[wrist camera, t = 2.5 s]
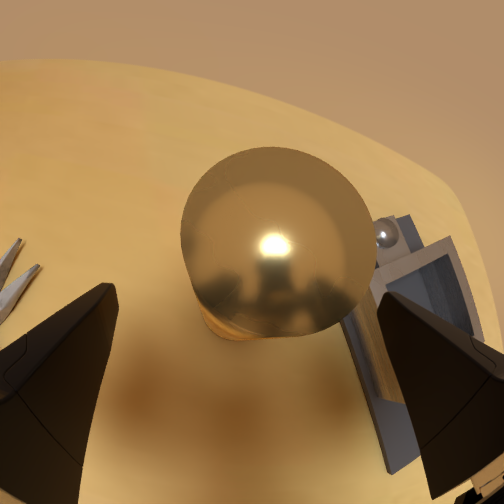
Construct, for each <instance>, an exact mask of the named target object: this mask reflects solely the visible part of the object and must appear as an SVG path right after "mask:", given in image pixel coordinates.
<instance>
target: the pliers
mask: <svg viewBox="0 0 504 504" xmlns="http://www.w3.org/2000/svg"><path fill="white" fill-rule="evenodd" d="M21 241H22V239H20V238H18V239H17V241H16V242H15V243H14V244H13V245H12V246H11V247H10V249H9V250H8V251H7V252H6V253H5V254H4V256H3V257H2V258H1V259H0V291H1V289H2V287H3V285H4V283H5V280H6V277H7V275H8V272H9V269H10V267H11V264H12V262H13V260H14V257H15V255H16V252H17V250H18V248H19V246H20V243H21ZM39 267H40V265H38V264H36V265H34V266H33V267H32V268H30V269H29V270H28V271H27V272H25V273H24V274H23V275H21V276H20V277H19V278H17V279H16V280H15V281H14V282H12V283H11V284H10V285H9V286H7V287H6V288H5V289H4V290H2V291H1V292H0V324H1V323H2V322H3V321H4V320H5V318H6V317H7V316H8V315H9V313H10V312H11V310H12V308H13V307H14V305H15V303H16V302H17V300H18V298H19V297H20V295H21V294H22V292H23V291H24V289H25V287H26V286H27V284H28V283H29V281H30V280H31V278H32V277H33V275H34V274H35V272H36V271H37V270H38V268H39Z"/></svg>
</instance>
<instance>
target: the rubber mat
mask: <svg viewBox="0 0 504 504" xmlns="http://www.w3.org/2000/svg"><path fill="white" fill-rule="evenodd" d="M396 221H397V223H398V225H399V227H400V229H401V232H402V234H403V236H404V238H405V241H406V243H407V245H408V248H409V250H410V252H411V253H414V252H416V251H418V250H420V249H422V248H424V246H423V243H422V241H421V239H420V236H419V234H418V232H417V230H416V227H415V225H414V223H413V221H412V219H411V217H410V214H409V215H406V216H403V217H400V218H397V219H396ZM386 288H387V291H395V292H397V293H399V294H401V295H403V296H404V297H406V298H408V299H410V300H411V301H413V302H415V303H417V304H418V305H420V306H422V307H424V308H425V309H427V310H429V311H430V312H432V313H434V310H433V307H432V304H431V301H430V298H429V296H428V293H427V290H426V287H425V284H424V282H423V279H422V276H421V274H420V271H419V269H417V270H415V271H413V272H411V273H409V274H407V275H405V276H402V277H400V278H398V279H396V280H394V281H392V282H390V283H388V284H386ZM434 314H435V313H434ZM340 323H341V326H342V328H343V331H344V334H345V337H346V340H347V342H348V345H349V348H350V351H351V354H352V357H353V360H354V363H355V365H356V368H357V371H358V374H359V377H360V380H361V384H362V387H363V390H364V393H365V396H366V399H367V402H368V405H369V409H370V412H371V415H372V419H373V422H374V425H375V429H376V432H377V435H378V439H379V442H380V446H381V450H382V453H383V457H384V461H385V464H386V468H387V472H388V473H389V474H391V475H393V474H394V473H396V472H397V471H399V470H400V469H402V468H403V467H405V466H406V465H408V464H409V463H410V462H412V461H413V460H415V459H416V458H417V457H419V456H420V450H419V447H418V443H417V440H416V436H415V433H414V430H413V426H412V423H411V420H410V417H409V414H408V410H407V407H406V404H402V403H398V402H394V401H389V400H385V399H381V398H377V395H376V392H375V389H374V386H373V383H372V379H371V376H370V373H369V370H368V367H367V364H366V361H365V358H364V355H363V352H362V349H361V346H360V343H359V341H358V338H357V335H356V332H355V329H354V326H353V324H352V321H351V318H350V315H349V314H348V315H347V316H346V317H344V318H343V319H342V320H340Z"/></svg>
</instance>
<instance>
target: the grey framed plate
mask: <svg viewBox="0 0 504 504" xmlns="http://www.w3.org/2000/svg"><path fill="white" fill-rule="evenodd" d="M373 225H374V229H375V234H376V241H377V257H376V265H375V270H374V274H373V277H372V280H371V282H370V285H369V287H368V289H367V291H366V293H365V295H364V296H363V298H362V299H361V301H360V302H359V303H358V305H357V306H356V307H355V308H354V309H353V310H352V311H351V312H350V313H349V315H350V318H351V321H352V324H353V326H354V329H355V332H356V335H357V338H358V341H359V343H360V346H361V349H362V352H363V355H364V358H365V361H366V364H367V367H368V370H369V373H370V376H371V379H372V383H373V386H374V389H375V392H376V395H377V398H381V399H385V400H389V401H394V402H398V403H402V404H405V401H404V398H403V395H402V392H401V389H400V387H399V384H398V381H397V378H396V375H395V373H394V370H393V367H392V364H391V362H390V359H389V356H388V353H387V350H386V347H385V344H384V340H383V336H382V333H381V329H380V326H379V322H378V319H377V309H378V306H379V304H380V301H381V299H382V296H383V294H384V293H385V292H387V288H386V284H388V283H390V282H392V281H394V280H396V279H398V278H400V277H402V276H405V275H407V274H409V273H411V272H413V271H415V270H417V269H419V271H420V274H421V276H422V279H423V282H424V284H425V287H426V290H427V293H428V296H429V298H430V301H431V304H432V307H433V310H434V313H435V314H436V315H437V316H439V317H441V318H442V319H444V320H446V321H447V322H449V323H451V324H452V325H454V326H456V327H457V328H459V329H461V330H462V331H464V332H466V333H467V334H469V335H471V336H472V337H474V338H476V339H477V340H479V341H481V342H482V343H483V342H484V341H485V340H484V336H483V332H482V328H481V324H480V320H479V317H478V313H477V309H476V306H475V303H474V299H473V296H472V293H471V290H470V287H469V284H468V281H467V278H466V275H465V272H464V269H463V267H462V264H461V261H460V259H459V256H458V254H457V251H456V249H455V246H454V244H453V241H452V239H451V236H448V237H446V238H444V239H442V240H439V241H437V242H435V243H433V244H431V245H429V246H427V247H424V248H422V249H420V250H418V251H416V252H414V253H411V252H410V250H409V248H408V245H407V243H406V241H405V238H404V236H403V234H402V232H401V229H400V227H399V225H398V223H397V221H396V219H395V217H394V215H393V216H389V217H386V218H380V219H378V220H377V221H374V222H373Z"/></svg>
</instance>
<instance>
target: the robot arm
mask: <svg viewBox="0 0 504 504" xmlns="http://www.w3.org/2000/svg"><path fill="white" fill-rule="evenodd" d="M118 311H119V304H118V299H117V294H116V288H115V286H114V284H113V283H100V284H99V285H97V286H96V287H94V288H93V289H91V290H89V291H88V292H86V293H85V294H83V295H82V296H80V297H79V298H77V299H76V300H74V301H73V302H71V303H70V304H68V305H67V306H65V307H64V308H62V309H61V310H59V311H58V312H56V313H55V314H53V315H52V316H50V317H49V318H47V319H46V320H44V321H43V322H41V323H40V324H38V325H37V326H36V327H34V328H33V329H31V330H30V331H28V332H27V334H24V335H23V336H21V337H20V338H19V339H17V340H16V341H14V342H13V343H11V344H10V345H8V346H7V347H6V348H4V349H2V350H1V351H0V504H78V498H79V490H80V483H81V477H82V470H83V468H82V467H83V463H84V458H85V452H86V447H87V442H88V437H89V432H90V428H91V423H92V419H93V415H94V410H95V406H96V402H97V398H98V394H99V390H100V387H101V383H102V379H103V376H104V372H105V369H106V365H107V362H108V358H109V355H110V351H111V346H112V341H113V336H114V331H115V326H116V321H117V316H118ZM377 319H378V322H379V326H380V329H381V333H382V336H383V340H384V344H385V347H386V350H387V353H388V356H389V359H390V362H391V364H392V367H393V370H394V373H395V375H396V378H397V381H398V384H399V387H400V389H401V392H402V395H403V398H404V401H405V404H406V407H407V410H408V414H409V417H410V420H411V423H412V426H413V430H414V433H415V436H416V440H417V443H418V447H419V450H420V455H421V458H422V462H423V466H424V470H425V474H426V478H427V482H428V486H429V491H430V495H431V498H432V500H434V499H436V498H438V497H440V496H442V495H444V494H445V493H447V492H449V491H451V490H453V489H454V488H456V487H458V486H460V485H461V484H463V483H465V482H466V481H468V480H470V479H471V482H472V484H473V486H474V487H473V488H471V489H470V490H468V491H467V492H465V493H463V494H462V495H460V496H458V497H457V498H456V500H455V503H454V504H504V354H502V353H500V352H498V351H496V350H495V349H493V348H491V347H489V346H487V345H486V344H484V343H482V342H481V341H479V340H477V339H476V338H474V337H472V336H471V335H469V334H467V333H466V332H464V331H462V330H461V329H459V328H457V327H456V326H454V325H452V324H451V323H449V322H447V321H446V320H444V319H442V318H441V317H439V316H437V315H436V314H434V313H432V312H430V311H429V310H427V309H425V308H424V307H422V306H420V305H418V304H417V303H415V302H413V301H411V300H410V299H408V298H406V297H404V296H403V295H401V294H399V293H397V292H395V291H387V292H385V293H384V294H383V296H382V299H381V301H380V304H379V306H378V309H377Z"/></svg>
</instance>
